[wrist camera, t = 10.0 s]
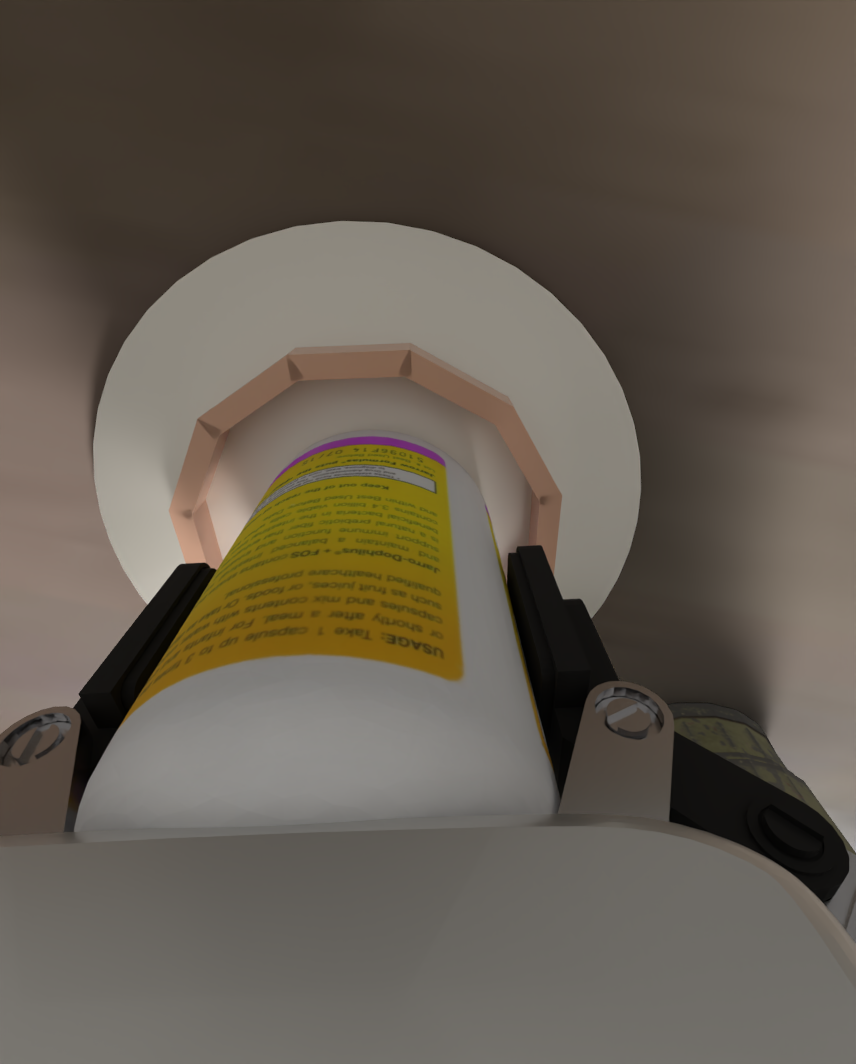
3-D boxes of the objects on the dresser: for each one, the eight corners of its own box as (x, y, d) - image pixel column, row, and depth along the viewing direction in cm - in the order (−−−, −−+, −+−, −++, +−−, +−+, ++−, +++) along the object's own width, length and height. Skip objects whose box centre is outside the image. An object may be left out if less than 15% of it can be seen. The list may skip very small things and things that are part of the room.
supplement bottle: (220, 511, 15) (-421, 1334, 4) (395, 371, 13) (194, 1208, 2) (368, 647, 17) (267, 1367, 6) (532, 548, 15) (814, 1334, 4)
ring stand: (685, 207, 12) (720, 202, 10) (596, 694, 20) (610, 728, 18) (5, 236, 12) (-50, 234, 10) (188, 709, 20) (171, 743, 18)
